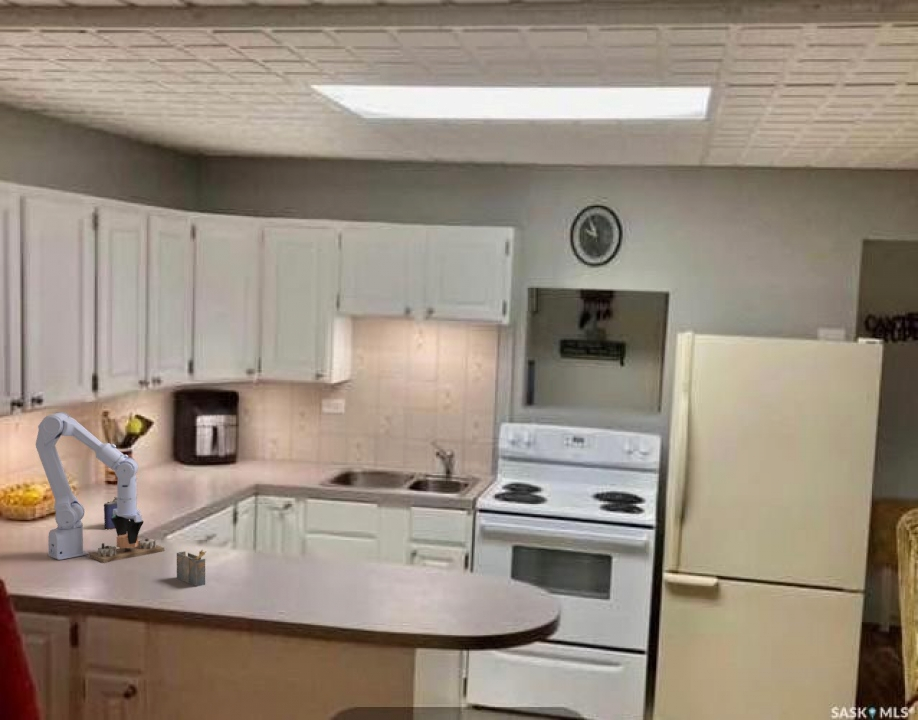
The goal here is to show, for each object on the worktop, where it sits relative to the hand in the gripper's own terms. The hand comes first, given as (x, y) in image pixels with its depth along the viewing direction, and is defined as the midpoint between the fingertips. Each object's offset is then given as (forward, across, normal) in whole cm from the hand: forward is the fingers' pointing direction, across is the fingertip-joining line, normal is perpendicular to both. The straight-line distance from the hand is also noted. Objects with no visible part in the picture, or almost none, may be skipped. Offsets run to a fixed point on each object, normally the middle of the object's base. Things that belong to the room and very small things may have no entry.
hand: (127, 541), depth 294 cm
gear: (+1, 0, 0) cm, 1 cm away
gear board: (+4, 0, 0) cm, 4 cm away
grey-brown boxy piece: (+5, -40, +2) cm, 41 cm away
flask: (+4, +37, -15) cm, 40 cm away
